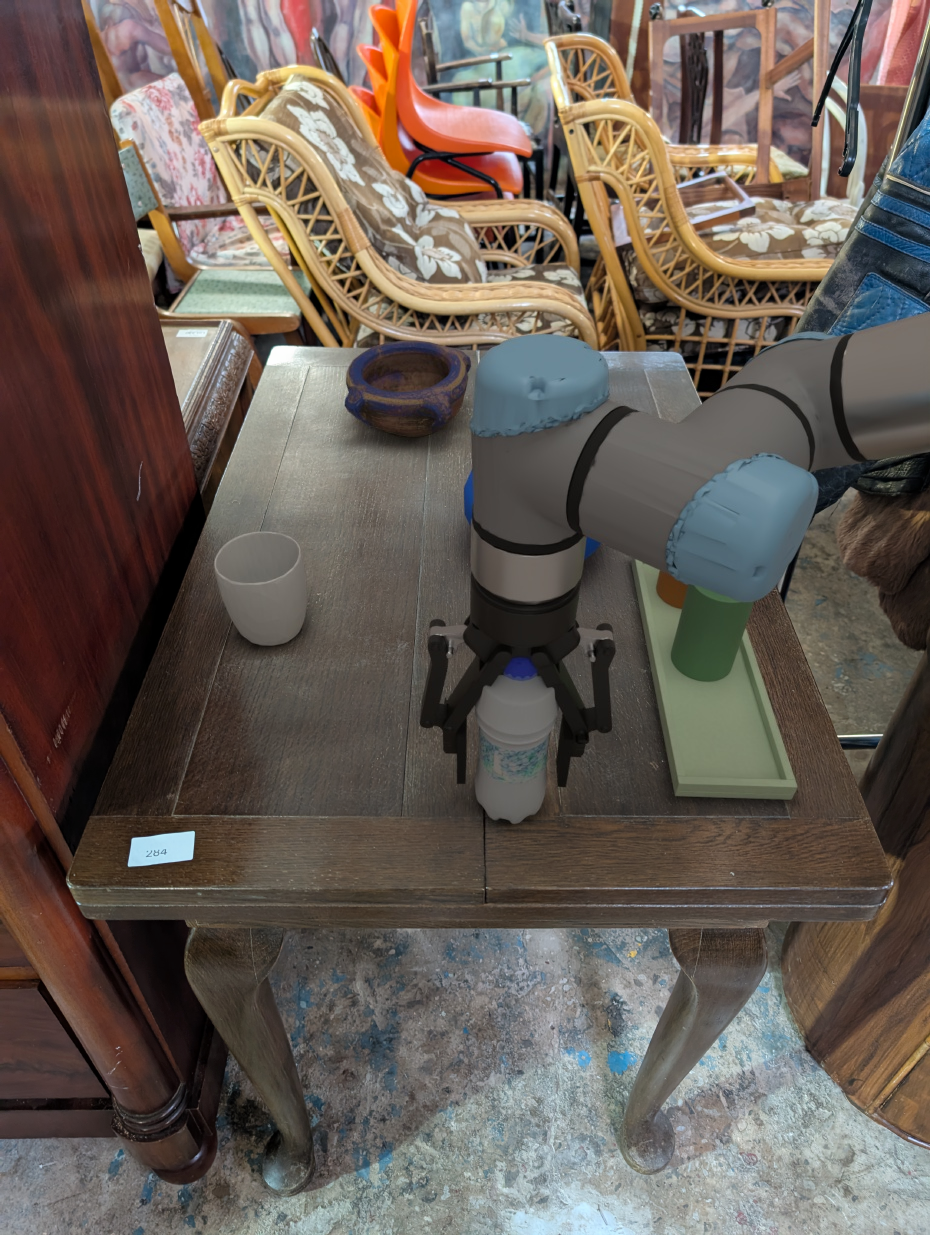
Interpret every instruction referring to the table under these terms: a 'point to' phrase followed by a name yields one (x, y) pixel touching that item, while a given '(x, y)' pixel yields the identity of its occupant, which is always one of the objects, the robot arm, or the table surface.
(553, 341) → the robot arm
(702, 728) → the tray
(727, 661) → the green bottle
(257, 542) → the mug
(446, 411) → the bowl
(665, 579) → the amber bottle
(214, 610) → the table surface
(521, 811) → the bottle
